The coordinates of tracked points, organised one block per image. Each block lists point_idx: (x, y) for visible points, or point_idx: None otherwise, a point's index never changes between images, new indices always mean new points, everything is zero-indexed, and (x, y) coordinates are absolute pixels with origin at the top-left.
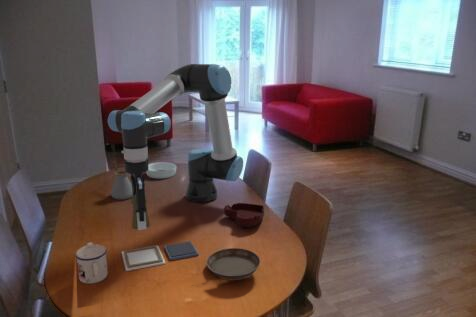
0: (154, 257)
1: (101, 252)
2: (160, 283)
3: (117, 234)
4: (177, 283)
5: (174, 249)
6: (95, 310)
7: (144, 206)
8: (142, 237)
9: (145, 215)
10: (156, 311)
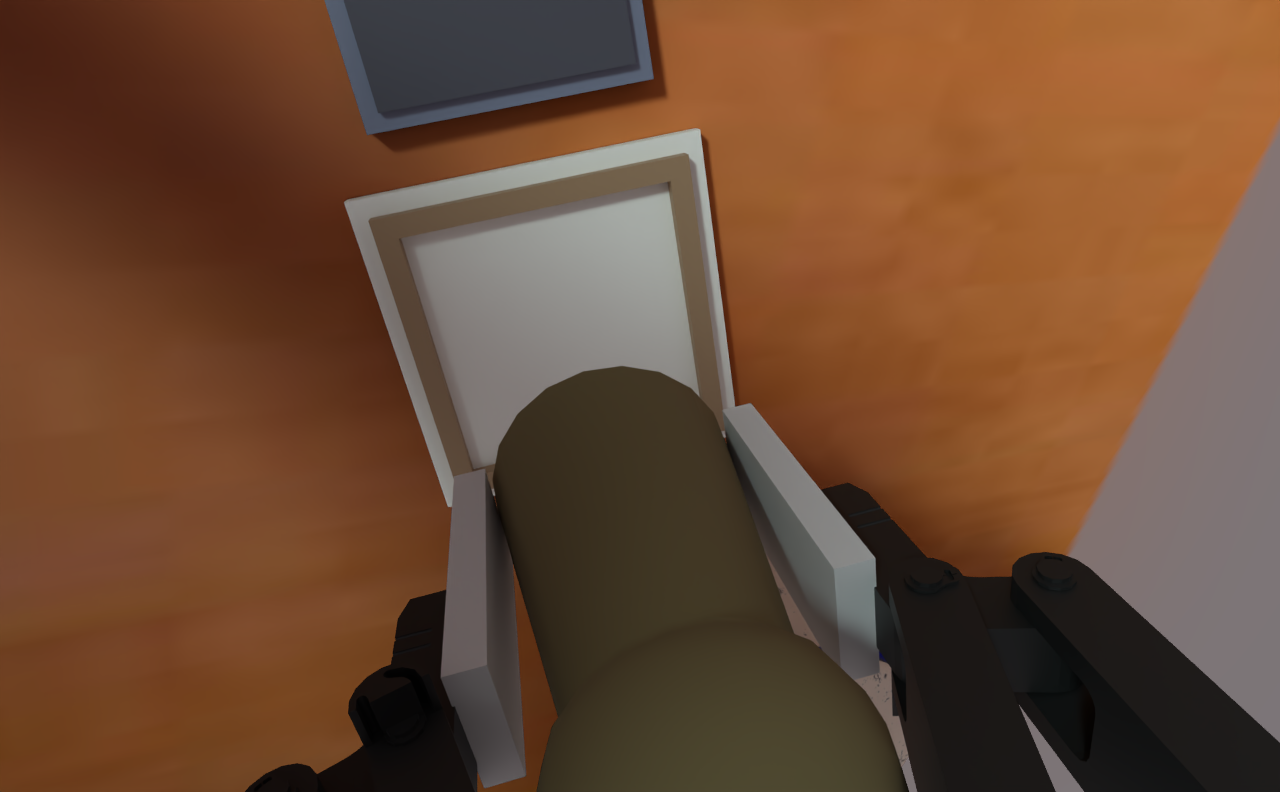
0: (591, 231)
1: (882, 678)
2: (966, 172)
3: (52, 596)
4: (1014, 33)
5: (487, 21)
6: (1074, 514)
7: (1150, 646)
8: (109, 369)
9: (834, 507)
10: (1236, 195)
